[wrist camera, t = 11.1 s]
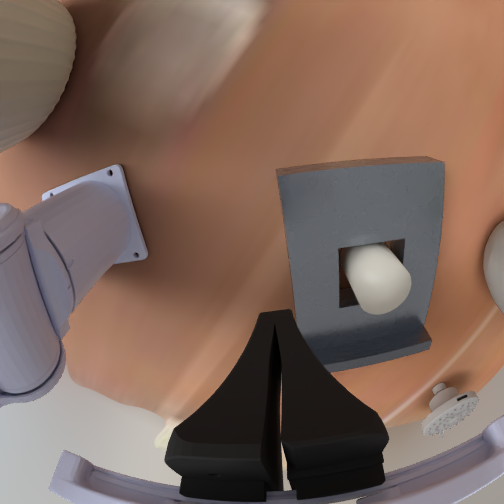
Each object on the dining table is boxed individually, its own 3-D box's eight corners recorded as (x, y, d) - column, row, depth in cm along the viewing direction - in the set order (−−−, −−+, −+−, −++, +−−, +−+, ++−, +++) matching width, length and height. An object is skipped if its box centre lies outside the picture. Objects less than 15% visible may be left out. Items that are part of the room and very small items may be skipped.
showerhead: (415, 448, 26) (438, 419, 22) (404, 412, 33) (420, 377, 29) (464, 427, 25) (491, 393, 21) (450, 395, 32) (471, 358, 28)
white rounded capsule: (340, 280, 22) (357, 319, 18) (338, 237, 20) (358, 271, 16) (384, 271, 22) (407, 307, 17) (385, 229, 20) (414, 259, 15)
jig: (298, 340, 25) (302, 376, 21) (275, 169, 18) (279, 183, 14) (411, 319, 24) (429, 349, 20) (426, 156, 17) (460, 168, 13)
